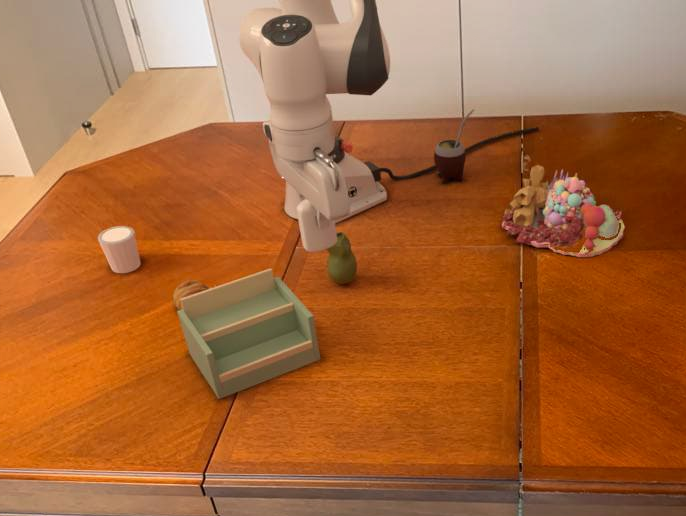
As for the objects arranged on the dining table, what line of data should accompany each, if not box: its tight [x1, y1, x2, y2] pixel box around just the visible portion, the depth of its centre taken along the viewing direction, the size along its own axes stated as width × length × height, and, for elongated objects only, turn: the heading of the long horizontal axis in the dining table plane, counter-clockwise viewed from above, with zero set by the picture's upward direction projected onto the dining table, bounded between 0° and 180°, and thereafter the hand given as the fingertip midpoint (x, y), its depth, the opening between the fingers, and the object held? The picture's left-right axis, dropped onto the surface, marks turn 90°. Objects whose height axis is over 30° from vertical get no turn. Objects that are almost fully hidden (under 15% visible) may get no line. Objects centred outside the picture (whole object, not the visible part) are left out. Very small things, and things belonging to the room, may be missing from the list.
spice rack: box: [176, 267, 321, 400], centre depth 132 cm, size 18×14×11 cm
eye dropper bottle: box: [297, 199, 337, 253], centre depth 128 cm, size 4×6×12 cm
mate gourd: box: [433, 108, 475, 185], centre depth 178 cm, size 8×8×15 cm
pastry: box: [172, 279, 210, 311], centre depth 146 cm, size 9×7×4 cm
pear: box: [326, 231, 358, 285], centre depth 149 cm, size 6×5×10 cm
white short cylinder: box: [97, 225, 142, 274], centre depth 157 cm, size 7×7×7 cm
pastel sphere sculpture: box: [501, 164, 626, 258], centre depth 162 cm, size 25×24×9 cm
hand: (316, 220), depth 129 cm, fingers closed on eye dropper bottle, 3 cm apart
